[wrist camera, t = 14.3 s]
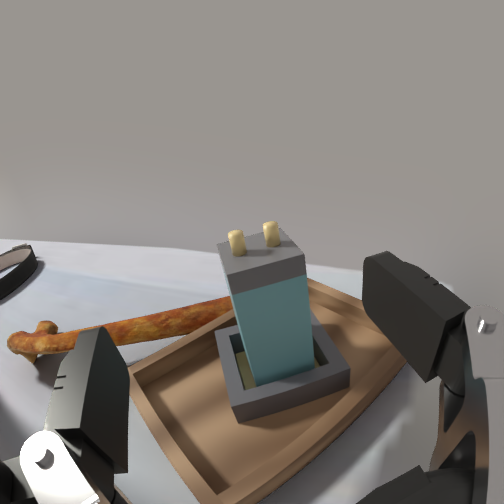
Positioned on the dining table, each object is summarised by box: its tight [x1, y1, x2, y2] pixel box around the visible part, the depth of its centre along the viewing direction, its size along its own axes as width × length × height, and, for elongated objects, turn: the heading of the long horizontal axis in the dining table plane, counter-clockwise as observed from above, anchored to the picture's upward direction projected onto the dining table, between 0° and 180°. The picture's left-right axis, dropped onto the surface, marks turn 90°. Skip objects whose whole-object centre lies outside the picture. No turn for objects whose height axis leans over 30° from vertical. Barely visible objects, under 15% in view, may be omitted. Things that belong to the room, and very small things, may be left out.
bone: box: [7, 296, 233, 363], centre depth 32 cm, size 33×8×10 cm, turn 96°
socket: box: [214, 309, 351, 424], centre depth 26 cm, size 10×10×2 cm
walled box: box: [128, 278, 407, 504], centre depth 26 cm, size 17×23×2 cm
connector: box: [217, 221, 315, 387], centre depth 23 cm, size 5×5×14 cm
